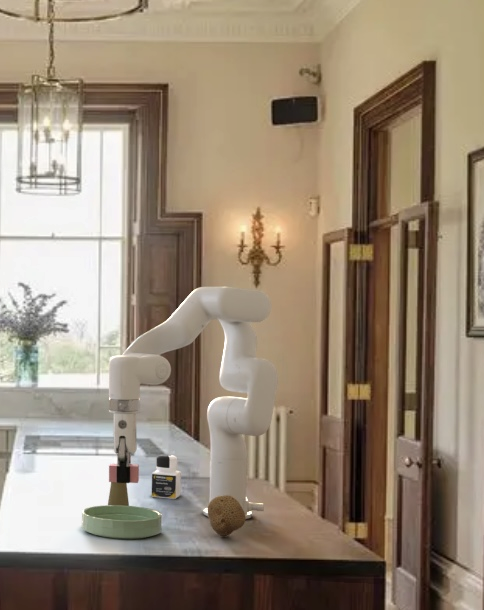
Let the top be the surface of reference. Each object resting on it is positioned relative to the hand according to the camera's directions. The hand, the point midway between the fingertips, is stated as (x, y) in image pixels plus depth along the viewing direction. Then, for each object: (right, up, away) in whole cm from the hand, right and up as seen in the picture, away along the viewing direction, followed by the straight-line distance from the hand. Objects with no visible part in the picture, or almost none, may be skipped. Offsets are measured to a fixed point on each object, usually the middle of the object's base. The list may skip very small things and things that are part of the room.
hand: (124, 480), depth 246 cm
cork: (+1, -13, +27) cm, 30 cm away
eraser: (0, 0, 0) cm, 0 cm away
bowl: (-1, -12, 0) cm, 12 cm away
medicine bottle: (+18, -13, +49) cm, 53 cm away
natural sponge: (+24, -13, -4) cm, 28 cm away
